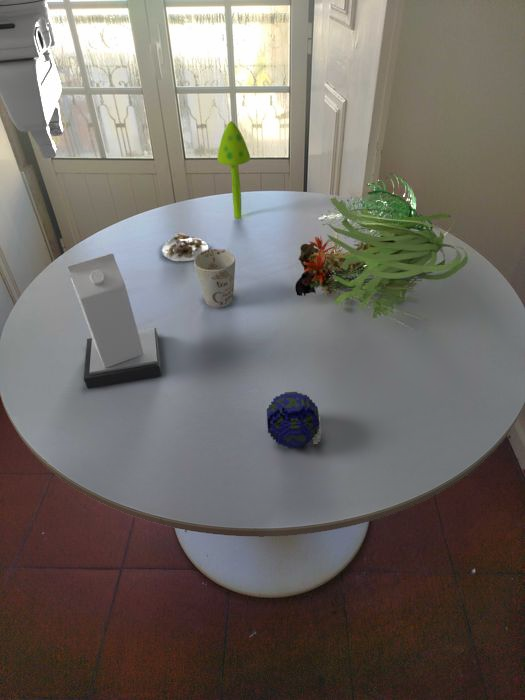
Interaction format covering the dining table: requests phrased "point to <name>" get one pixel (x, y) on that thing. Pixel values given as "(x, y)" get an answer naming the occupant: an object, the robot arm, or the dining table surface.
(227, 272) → the mug
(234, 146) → the mushroom
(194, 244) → the plate of food scraps
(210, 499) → the dining table surface
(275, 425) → the ball
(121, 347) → the milk carton
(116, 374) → the scale
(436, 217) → the plant
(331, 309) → the dining table surface
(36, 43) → the robot arm
